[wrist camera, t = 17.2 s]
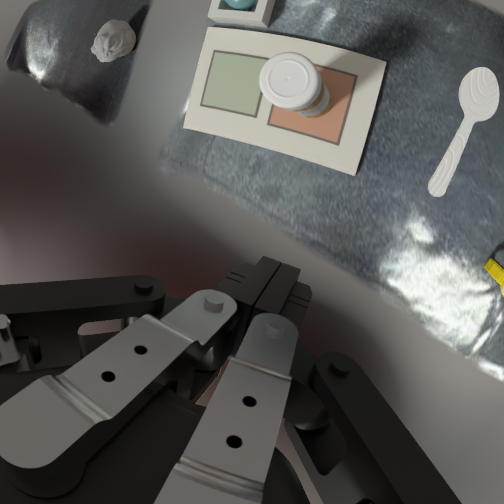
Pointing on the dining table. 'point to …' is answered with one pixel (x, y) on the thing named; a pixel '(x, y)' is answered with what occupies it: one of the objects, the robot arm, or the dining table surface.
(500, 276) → the watch
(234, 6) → the button
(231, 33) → the picture board
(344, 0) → the dining table surface
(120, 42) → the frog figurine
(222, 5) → the button housing
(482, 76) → the spoon
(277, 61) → the sprinkles bottle
